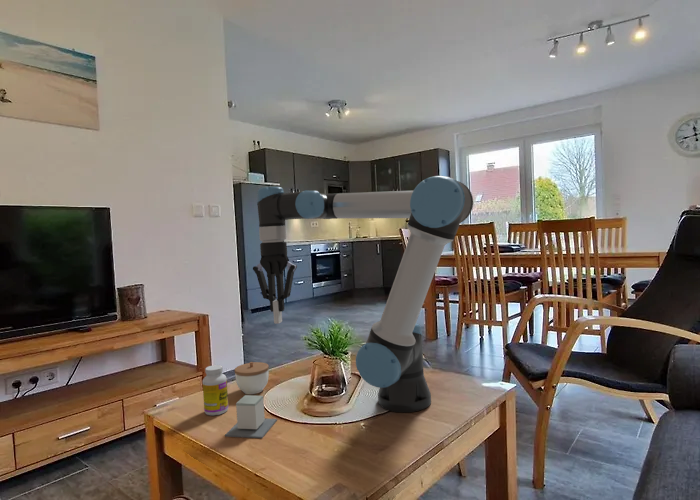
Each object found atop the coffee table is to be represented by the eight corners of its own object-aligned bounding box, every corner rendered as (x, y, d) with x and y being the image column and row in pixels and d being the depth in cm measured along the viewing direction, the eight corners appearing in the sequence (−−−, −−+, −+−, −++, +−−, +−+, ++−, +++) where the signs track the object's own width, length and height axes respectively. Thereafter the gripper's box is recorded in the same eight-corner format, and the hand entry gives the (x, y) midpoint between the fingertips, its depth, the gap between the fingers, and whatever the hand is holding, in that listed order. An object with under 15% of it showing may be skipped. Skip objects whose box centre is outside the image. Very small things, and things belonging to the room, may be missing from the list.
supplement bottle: (221, 416, 120) (218, 371, 119) (200, 416, 121) (196, 371, 121) (232, 407, 127) (229, 363, 126) (212, 406, 128) (209, 363, 127)
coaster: (277, 420, 116) (277, 418, 116) (262, 438, 106) (262, 436, 106) (242, 418, 118) (242, 417, 118) (225, 436, 108) (224, 434, 108)
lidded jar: (276, 389, 139) (275, 360, 139) (249, 400, 131) (247, 369, 131) (256, 382, 146) (255, 355, 146) (229, 392, 138) (227, 363, 138)
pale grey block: (264, 420, 114) (263, 395, 114) (256, 429, 109) (255, 403, 109) (246, 419, 115) (245, 395, 115) (237, 428, 110) (236, 403, 110)
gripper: (299, 239, 126) (303, 319, 127) (257, 241, 129) (262, 319, 130) (290, 240, 119) (295, 325, 120) (246, 242, 121) (251, 325, 123)
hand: (278, 322), depth 125 cm, fingers closed
